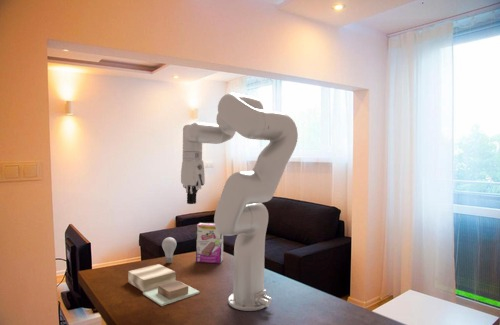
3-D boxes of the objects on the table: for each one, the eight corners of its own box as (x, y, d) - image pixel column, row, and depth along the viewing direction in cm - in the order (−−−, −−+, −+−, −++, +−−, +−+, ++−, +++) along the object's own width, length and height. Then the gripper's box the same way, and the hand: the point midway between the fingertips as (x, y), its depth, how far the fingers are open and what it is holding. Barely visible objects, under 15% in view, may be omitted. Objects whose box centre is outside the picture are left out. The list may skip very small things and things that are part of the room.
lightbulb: (161, 265, 134) (161, 239, 134) (161, 261, 140) (161, 236, 140) (176, 264, 135) (177, 238, 135) (176, 260, 141) (176, 235, 141)
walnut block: (176, 280, 110) (176, 287, 110) (158, 285, 105) (157, 292, 105) (188, 286, 105) (188, 293, 105) (169, 292, 100) (169, 299, 100)
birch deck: (175, 282, 116) (175, 271, 116) (144, 292, 107) (144, 280, 107) (158, 274, 124) (158, 263, 124) (128, 282, 116) (128, 271, 115)
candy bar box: (195, 262, 138) (196, 224, 138) (198, 259, 143) (199, 222, 143) (221, 264, 137) (221, 225, 137) (223, 260, 142) (223, 223, 142)
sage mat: (199, 293, 107) (199, 291, 107) (161, 306, 97) (161, 304, 97) (179, 283, 116) (179, 281, 116) (142, 294, 106) (142, 292, 106)
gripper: (211, 156, 123) (211, 204, 123) (189, 156, 134) (188, 200, 134) (195, 156, 118) (195, 206, 118) (173, 156, 128) (172, 202, 128)
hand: (191, 203), depth 126 cm, fingers closed
